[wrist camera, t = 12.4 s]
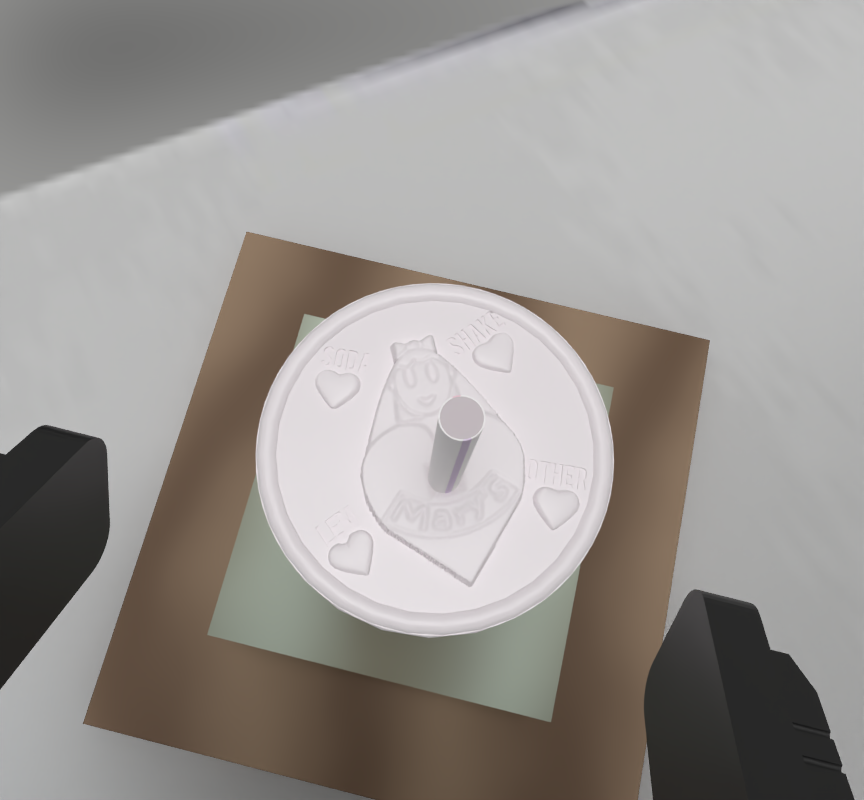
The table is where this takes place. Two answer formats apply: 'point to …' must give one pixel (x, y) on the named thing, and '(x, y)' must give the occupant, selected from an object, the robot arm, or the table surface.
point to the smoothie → (434, 459)
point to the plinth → (366, 707)
